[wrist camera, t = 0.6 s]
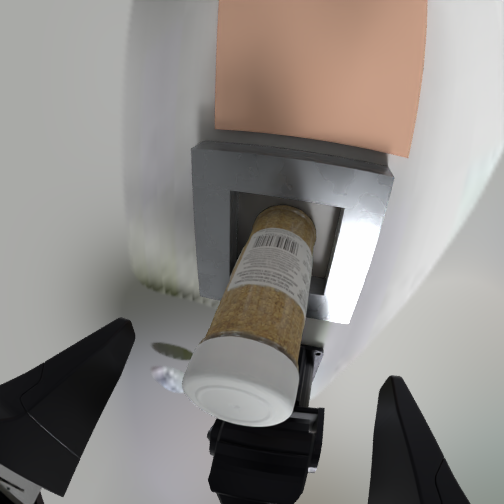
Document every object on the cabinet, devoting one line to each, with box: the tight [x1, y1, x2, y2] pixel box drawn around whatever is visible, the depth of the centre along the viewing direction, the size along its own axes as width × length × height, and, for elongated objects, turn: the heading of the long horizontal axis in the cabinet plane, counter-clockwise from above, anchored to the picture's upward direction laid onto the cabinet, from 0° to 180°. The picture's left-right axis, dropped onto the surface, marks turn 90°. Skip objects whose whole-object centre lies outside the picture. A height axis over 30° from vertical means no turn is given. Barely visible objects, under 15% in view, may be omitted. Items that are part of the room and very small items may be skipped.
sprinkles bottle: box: [182, 205, 316, 427], centre depth 16 cm, size 5×5×13 cm
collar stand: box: [191, 141, 394, 324], centre depth 20 cm, size 12×12×2 cm
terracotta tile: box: [215, 0, 427, 158], centre depth 13 cm, size 12×12×1 cm
